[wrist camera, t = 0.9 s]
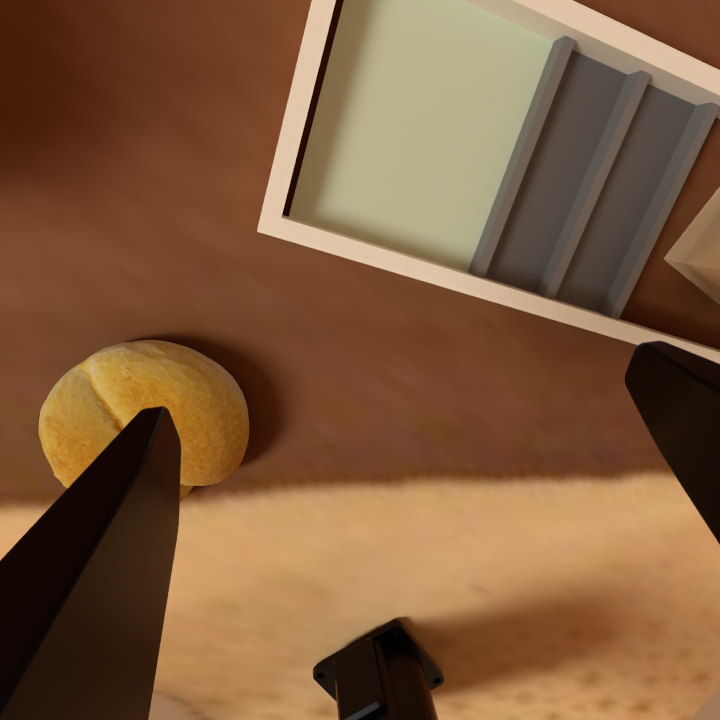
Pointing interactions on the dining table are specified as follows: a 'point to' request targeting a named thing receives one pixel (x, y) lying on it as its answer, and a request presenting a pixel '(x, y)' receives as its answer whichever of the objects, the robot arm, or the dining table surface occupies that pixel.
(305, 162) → the box
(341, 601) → the dining table surface
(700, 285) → the maple block
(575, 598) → the dining table surface
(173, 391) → the bread roll
